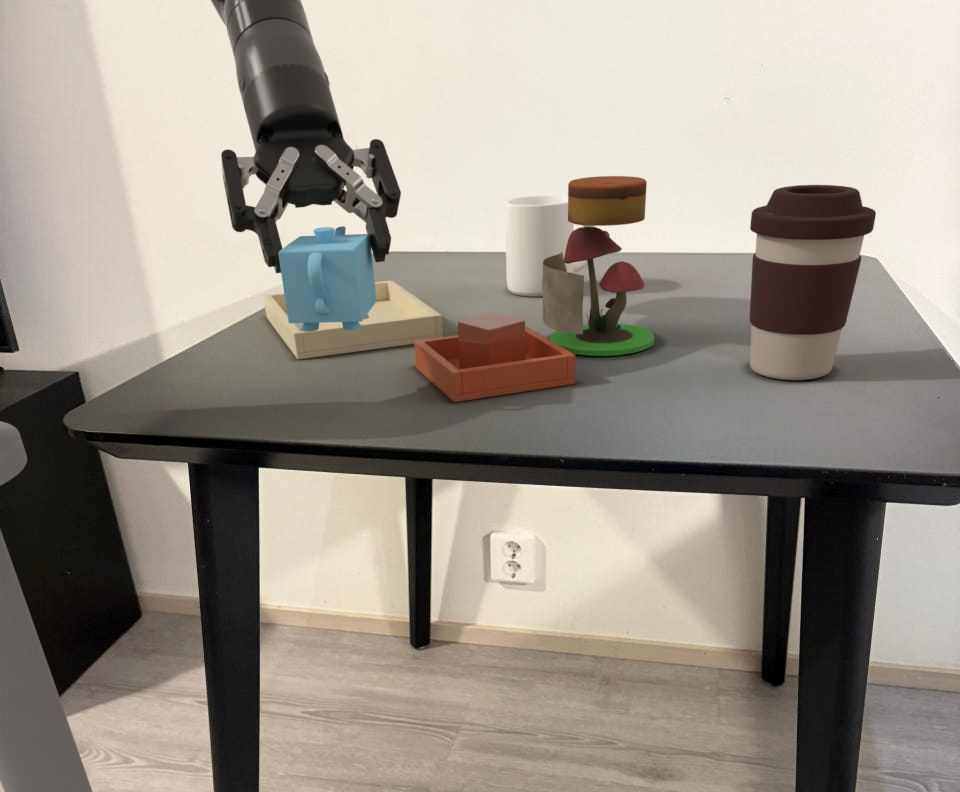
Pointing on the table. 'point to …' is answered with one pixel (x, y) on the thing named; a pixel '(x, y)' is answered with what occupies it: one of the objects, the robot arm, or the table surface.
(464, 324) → the clay block
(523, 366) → the terracotta tray
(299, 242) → the teapot
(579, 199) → the mushroom figurine
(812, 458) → the table surface
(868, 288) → the table surface
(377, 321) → the cream tray
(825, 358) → the coffee cup
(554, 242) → the mug
